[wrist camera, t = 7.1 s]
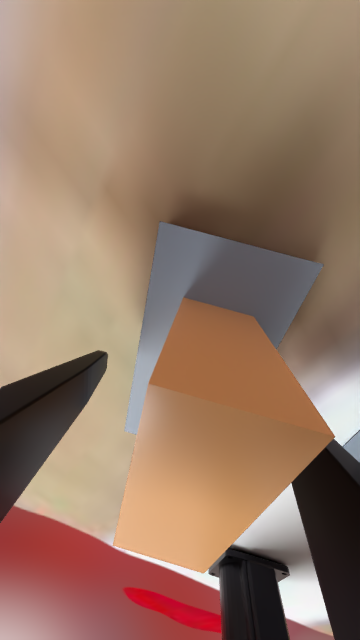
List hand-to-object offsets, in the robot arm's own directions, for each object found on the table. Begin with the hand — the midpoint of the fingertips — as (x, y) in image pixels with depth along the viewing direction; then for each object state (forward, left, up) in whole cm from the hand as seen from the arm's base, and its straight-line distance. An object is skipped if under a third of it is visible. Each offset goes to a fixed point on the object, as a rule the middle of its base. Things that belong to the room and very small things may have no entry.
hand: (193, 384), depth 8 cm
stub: (0, 0, -2) cm, 2 cm away
